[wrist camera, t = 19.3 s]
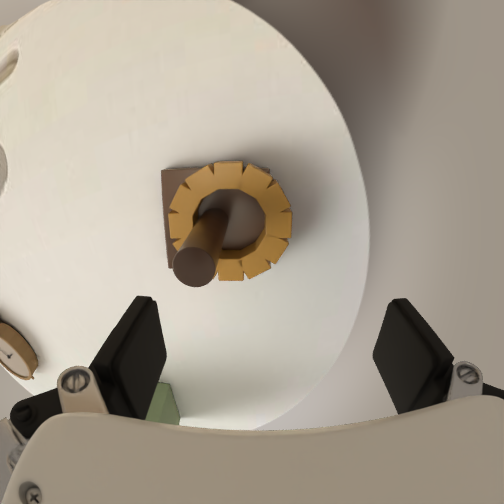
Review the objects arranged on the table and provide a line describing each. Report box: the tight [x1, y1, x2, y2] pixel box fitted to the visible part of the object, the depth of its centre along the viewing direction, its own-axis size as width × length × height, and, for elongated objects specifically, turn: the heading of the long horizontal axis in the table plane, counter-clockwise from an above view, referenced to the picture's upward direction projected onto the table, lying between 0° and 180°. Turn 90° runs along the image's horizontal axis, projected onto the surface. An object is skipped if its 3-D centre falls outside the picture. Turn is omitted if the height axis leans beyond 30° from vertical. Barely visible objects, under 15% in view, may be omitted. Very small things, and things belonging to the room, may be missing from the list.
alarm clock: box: [0, 322, 38, 380], centre depth 30 cm, size 11×5×15 cm
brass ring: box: [168, 161, 292, 281], centre depth 22 cm, size 10×10×2 cm
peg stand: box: [161, 167, 270, 287], centre depth 19 cm, size 9×9×10 cm
